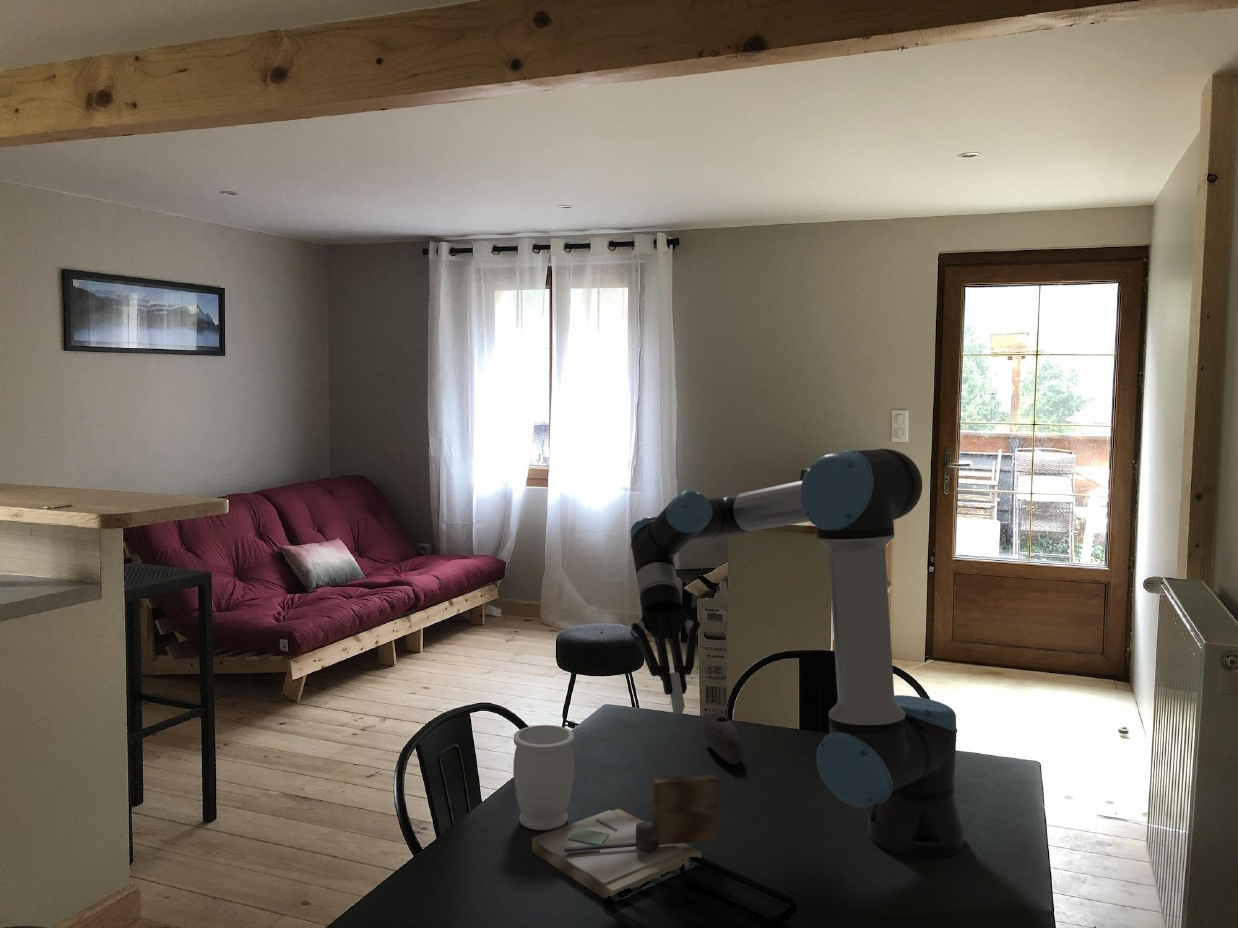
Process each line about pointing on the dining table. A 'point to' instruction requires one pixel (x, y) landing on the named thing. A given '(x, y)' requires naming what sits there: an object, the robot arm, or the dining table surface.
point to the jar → (543, 775)
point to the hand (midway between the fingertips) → (679, 710)
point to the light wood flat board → (609, 853)
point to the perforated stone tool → (723, 738)
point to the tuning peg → (675, 814)
